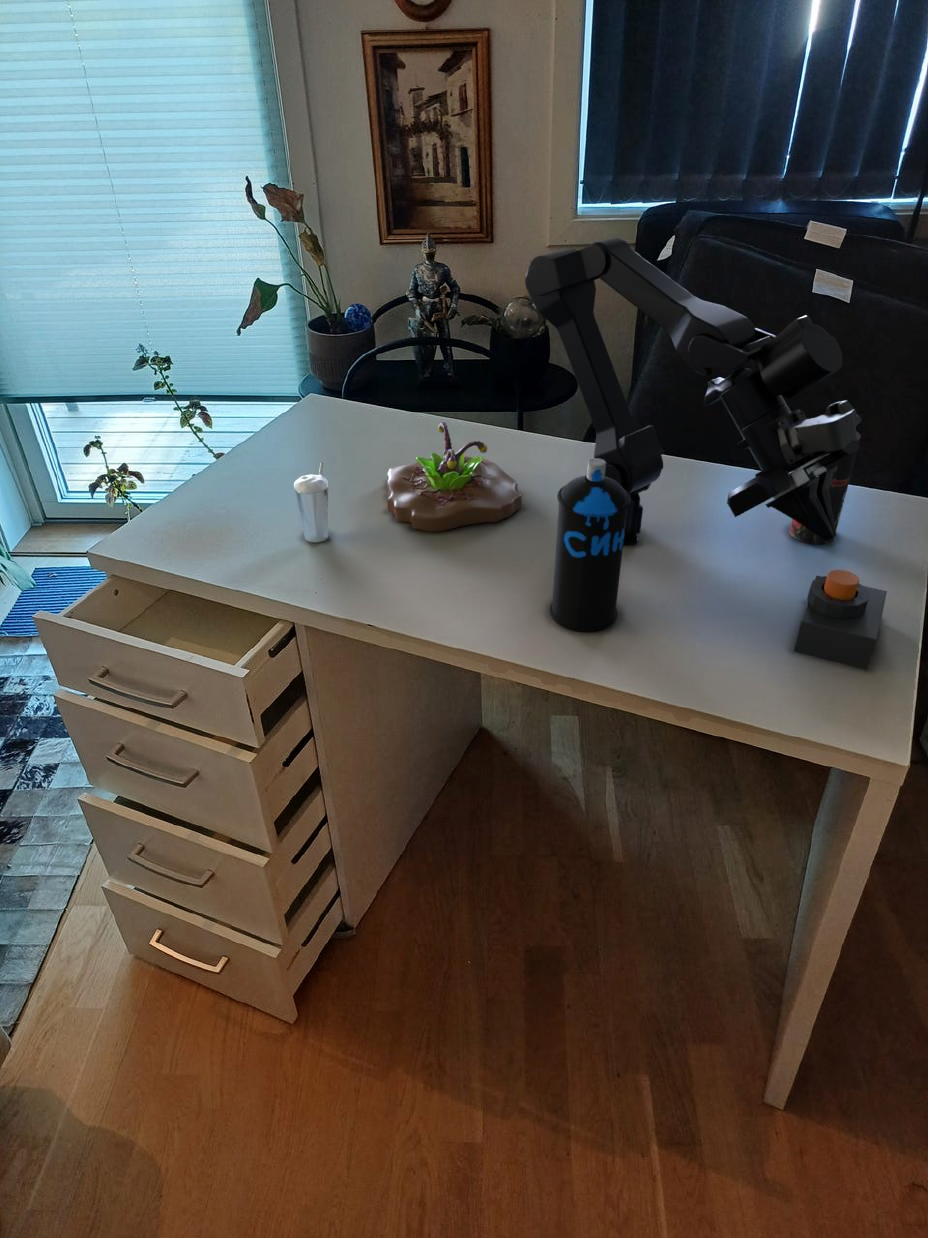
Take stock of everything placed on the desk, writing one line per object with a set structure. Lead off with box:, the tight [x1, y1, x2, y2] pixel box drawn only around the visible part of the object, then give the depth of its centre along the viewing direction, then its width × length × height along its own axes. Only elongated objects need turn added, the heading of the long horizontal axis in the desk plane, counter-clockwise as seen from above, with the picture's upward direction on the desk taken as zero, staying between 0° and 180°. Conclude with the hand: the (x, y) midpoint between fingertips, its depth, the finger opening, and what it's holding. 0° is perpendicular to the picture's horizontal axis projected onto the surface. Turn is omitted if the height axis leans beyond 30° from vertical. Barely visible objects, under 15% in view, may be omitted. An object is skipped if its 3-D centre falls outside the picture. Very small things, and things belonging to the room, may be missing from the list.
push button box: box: [793, 575, 888, 671], centre depth 104 cm, size 11×8×6 cm
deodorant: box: [789, 430, 862, 546], centre depth 122 cm, size 6×6×15 cm
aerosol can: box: [549, 457, 631, 633], centre depth 104 cm, size 8×8×20 cm
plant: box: [386, 421, 522, 533], centre depth 132 cm, size 20×20×11 cm
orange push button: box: [824, 569, 860, 600], centre depth 102 cm, size 3×3×2 cm
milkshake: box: [293, 462, 329, 544], centre depth 123 cm, size 4×5×10 cm
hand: (831, 538), depth 101 cm, fingers closed
